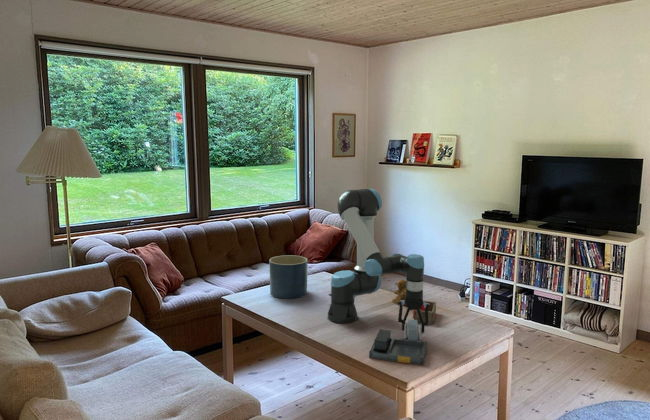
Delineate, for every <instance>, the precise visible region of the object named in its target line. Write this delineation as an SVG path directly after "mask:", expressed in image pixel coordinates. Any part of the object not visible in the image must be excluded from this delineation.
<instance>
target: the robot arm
mask: <svg viewBox="0 0 650 420" xmlns="http://www.w3.org/2000/svg"><path fill="white" fill-rule="evenodd" d="M382 203H383V202H382V197H381V194H380V193H379V192H378V191H377V190H376V189H374V188H359V189H348V190H345V191H344V192H342V194H340V196H339V198H338V200H337V206H336V207H337V213H338V215H339V217H340V219H341V220H342V221H344V222H345V224H346V226H347V228H348V229H349V232H350V233H351V235H352V237H353V239H354V241H355V243H356V265H355V266H354V267H353V270H340V271H336V272H334V273H333V274H332V276H331V280H330V281H331V282H330V286H331V288H330V294H331V296H330V299H331V301H330V305H329V308H328V311H327V320H329V321H330V322H333V323H337V324H349V323H354V322H356V321H357V320H358V310H357V308H356V304H355V297H357V296H363V295H370V294H372V293H376V292H378V290H379V289H380V288H381V286H382V276H383V275H387V274H394V273H403V274H404V275H405V277H406V279H405V281H406V288H407V289H406V299H405V300H403V301H402V300H400V301H399V304H398V306H399V308H398V309H399V310H398V318H397V319H398V320H397V322H398V323H400V324H401V331H403V339H404V340H407V339H406V338H407V336H408V322H406V321H407V318H408V316H409V314H410V311H411V310H412V311H413V309H414V310H417V312H418V315H419V319H420V322H421V323H419V324H420V325H419V333H418V334H419V335H418V337H419V338H418V339H419V340H418V341H422V338H423V337H422V336H423V335H422V334H424V333H425V326H427V327H428V326H429V325H430V324H429V315H428V308H429V303H425V302H424V301H425V300H424V298H423V297H424V273H425V259H424V258H425V257H424V256H423V255H421V254H417V253H414V254H413V253H411V254H408V255H407V256H406V255H403V254H400V253H397V252H396V253H392V254H390V255H389V256H385V257H384V256H383V255H382V253H381V251H380V250H379V247H378V246H377V243H375V230H374V229H375V219H376V217H377V216H378V215H377V214H378V212H379V211H380V210H381V208H382ZM404 303H405V304H406V305H407V306H406V307H407V309H406V311H405V314H404V317H403V311H404V310H403V308H404ZM422 305H424V308H425V322H424V319H423V316H422V312H421V308H420V307H421V306H422ZM402 318H403V319H402Z"/></svg>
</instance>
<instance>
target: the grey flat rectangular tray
mask: <svg viewBox="0 0 650 420" xmlns="http://www.w3.org/2000/svg"><path fill="white" fill-rule="evenodd" d="M391 333H392V331H391V330H389V329H381V328H380V329H379V330H378V332H377V335H375V338H374V342H373V344H372V345H371V348H370V350H369V353H368V355H369V356H368V357H369V359H373V360H375V359H376V360H383V361H389V362H397V363H403V364H404V363H405V364H413V365H421V366H423V365H424V361H425V357H426V353H427V347H428V342H427V341H422V340H418V341H412V340H408V339H404V338H403V339H402V338H394V337H392V334H391Z"/></svg>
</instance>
